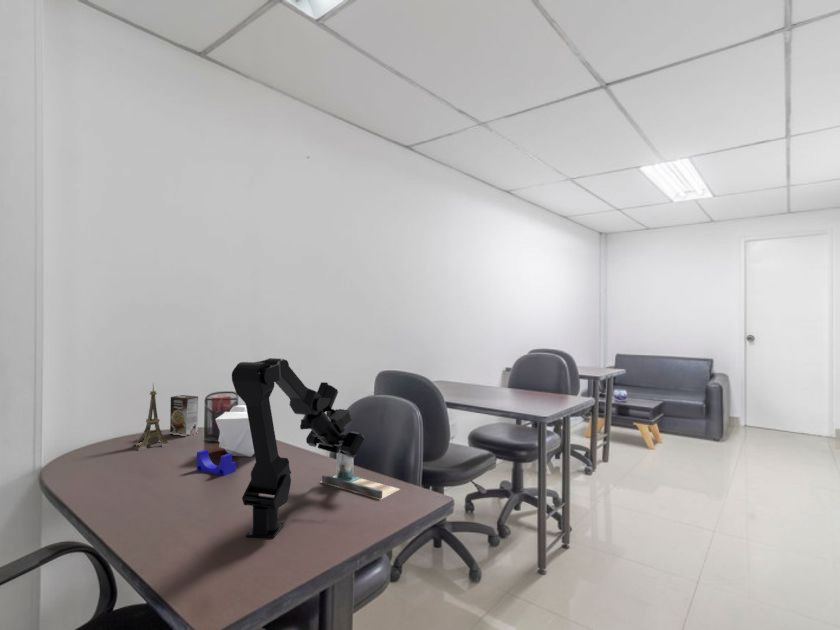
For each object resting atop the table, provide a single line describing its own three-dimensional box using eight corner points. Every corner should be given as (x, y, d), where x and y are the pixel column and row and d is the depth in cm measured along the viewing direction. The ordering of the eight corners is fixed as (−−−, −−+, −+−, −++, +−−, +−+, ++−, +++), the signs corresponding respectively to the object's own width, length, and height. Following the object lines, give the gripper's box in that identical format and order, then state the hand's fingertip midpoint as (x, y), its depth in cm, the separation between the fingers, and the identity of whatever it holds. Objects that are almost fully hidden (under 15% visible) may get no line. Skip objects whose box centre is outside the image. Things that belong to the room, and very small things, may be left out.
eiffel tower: (138, 451, 164) (139, 383, 164) (134, 445, 172) (134, 380, 172) (170, 446, 171) (171, 381, 171) (164, 440, 179) (165, 378, 179)
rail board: (400, 491, 125) (400, 482, 125) (380, 502, 117) (380, 492, 117) (341, 475, 138) (341, 467, 138) (319, 484, 130) (319, 475, 130)
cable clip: (235, 471, 142) (235, 452, 142) (224, 476, 138) (224, 456, 138) (208, 466, 147) (208, 448, 147) (196, 470, 142) (196, 452, 143)
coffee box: (169, 435, 186) (169, 396, 187) (181, 431, 193) (182, 394, 193) (186, 437, 184) (186, 398, 184) (198, 433, 190) (198, 395, 190)
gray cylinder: (351, 478, 130) (351, 440, 130) (334, 478, 130) (334, 440, 131) (355, 472, 135) (355, 436, 135) (338, 472, 135) (339, 436, 136)
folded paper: (245, 400, 174) (203, 410, 160) (286, 406, 161) (244, 419, 147) (248, 442, 175) (206, 457, 161) (288, 453, 162) (247, 469, 148)
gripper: (360, 405, 125) (384, 436, 133) (313, 398, 135) (339, 428, 144) (339, 439, 118) (367, 469, 127) (293, 429, 128) (321, 458, 137)
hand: (348, 454), depth 134 cm, fingers closed on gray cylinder, 5 cm apart
